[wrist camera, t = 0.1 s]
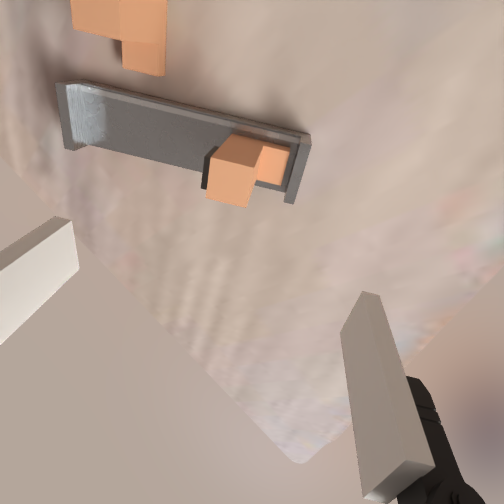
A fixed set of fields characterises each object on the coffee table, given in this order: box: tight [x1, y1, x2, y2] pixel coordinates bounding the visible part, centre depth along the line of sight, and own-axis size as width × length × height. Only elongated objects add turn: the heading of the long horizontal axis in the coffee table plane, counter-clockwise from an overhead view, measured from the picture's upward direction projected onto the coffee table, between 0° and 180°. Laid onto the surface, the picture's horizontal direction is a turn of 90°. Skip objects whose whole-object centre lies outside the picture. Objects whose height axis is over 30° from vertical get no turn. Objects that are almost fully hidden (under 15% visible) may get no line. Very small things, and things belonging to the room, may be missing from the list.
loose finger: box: [70, 0, 167, 76], centre depth 28 cm, size 4×8×10 cm, turn 169°
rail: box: [55, 79, 312, 204], centre depth 36 cm, size 7×28×5 cm, turn 79°
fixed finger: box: [201, 134, 290, 208], centre depth 32 cm, size 4×8×10 cm, turn 79°
